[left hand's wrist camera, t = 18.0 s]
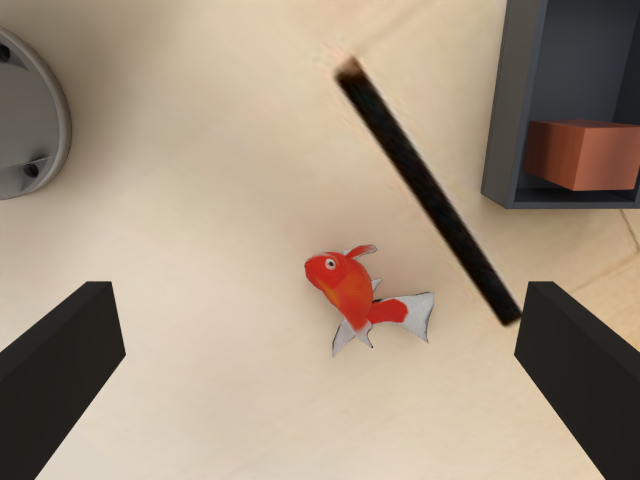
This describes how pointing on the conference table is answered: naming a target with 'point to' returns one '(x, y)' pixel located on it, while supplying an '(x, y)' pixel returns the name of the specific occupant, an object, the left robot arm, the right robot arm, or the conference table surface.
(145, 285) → the conference table surface
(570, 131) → the block
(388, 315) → the fish
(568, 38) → the tray
